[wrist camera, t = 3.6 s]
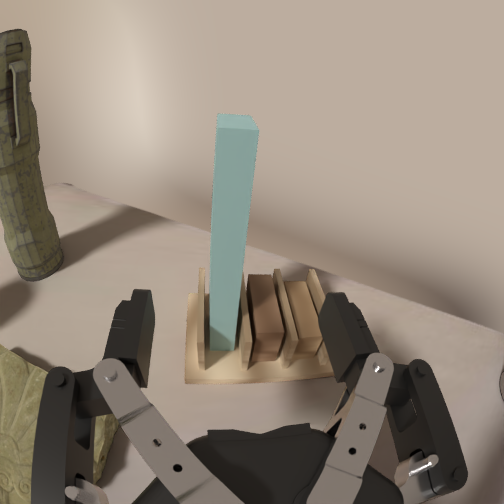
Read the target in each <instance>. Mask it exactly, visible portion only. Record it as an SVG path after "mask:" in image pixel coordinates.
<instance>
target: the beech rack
mask: <svg viewBox="0 0 504 504" xmlns="http://www.w3.org/2000/svg"><path fill="white" fill-rule="evenodd" d="M272 281H273V285H274V289H275V294H276V298H277V302H278V307H279V311H280V315H281V320H282V324H283V329H284V335H283V338H282V341H281V345H280V348H279V351H278V354H277V357H276V360H275V361H265V362H251V355H250V352H251V347H252V336H251V328H250V321H249V313H248V306H247V298H246V290H245V283H244V275H243V272H242V281H241V290H240V299H239V308H238V317H237V326H236V335H235V344H234V351H210V331H209V294H205V268H199V285H198V293H189V296H188V311H187V329H186V351H185V384H242V383H264V382H280V381H292V380H303V379H312V378H321V377H329V376H335V375H334V372H333V369H332V366H331V363H330V359H329V356H328V353H327V350H326V347H325V344H324V341H323V339H322V341H321V343H320V345H319V347H318V349H317V352H316V354H315V356H314V358H310V359H298V360H291V359H292V356H293V353H294V351H295V348H296V346H297V343H298V336H297V332H296V328H295V324H294V321H293V317H292V313H291V309H290V306H289V302H288V298H287V294H286V291H285V287H284V283H283V280H282V276H281V272H280V269H274V273H273V278H272ZM306 285H307V288H308V291H309V294H310V297H311V299H312V302H313V305H314V308H315V311H316V314H317V317H318V316H319V313H320V310H321V308H322V305H323V303H324V300H325V298H326V297H325V295H324V292H323V290H322V287H321V285H320V282H319V280H318V277H317V275H316V272H315V270H314V269H309V272H308V276H307V279H306Z"/></svg>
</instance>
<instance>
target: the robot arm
mask: <svg viewBox="0 0 504 504" xmlns="http://www.w3.org/2000/svg"><path fill="white" fill-rule="evenodd" d="M318 325H319V329H320V332H321V335H322V338H323V341H324V344H325V347H326V350H327V353H328V356H329V359H330V363H331V366H332V369H333V372H334V375H335V378H336V382H337V383H339V382H345V383H346V387H345V389H344V391H343V393H342V396H341V398H340V400H339V402H338V405H337V407H336V409H335V411H334V413H333V415H332V417H331V419H330V421H329V422H328V424H327V425H326V427H325V428H324V430H323V431H320V430H316V429H311V428H310V424H309V423H305V424H297V425H288V426H284V427H281V428H278V429H275V430H272V431H269V432H266V433H263V434H256V433H250V432H244V431H239V430H234V429H232V430H208V435H206V436H202V437H199V438H196V439H194V440H192V441H190V442H189V443H187V444H186V445H185V444H184V442H183V441H182V440H181V439H180V438H179V437H178V435H177V434H176V433H175V432H174V430H173V429H172V428H171V427H170V426H169V424H168V423H167V422H166V420H165V419H164V418H163V417H162V415H161V414H160V413H159V411H158V410H157V409H156V408H155V406H154V405H153V404H151V403H150V402H149V401H148V399H147V398H146V397H145V395H144V394H143V392H142V391H141V389H140V387H142V388H147V384H148V375H149V366H150V357H151V349H152V341H153V334H154V327H155V312H154V306H153V300H152V294H151V290H143V289H134V290H133V293H132V297H131V301H126V300H122V302H121V303H120V304H119V305H118V307H117V308H116V310H115V313H114V317H113V321H112V324H111V328H110V332H109V336H108V340H107V344H106V348H105V353H104V357H103V359H102V361H100V362H99V363H98V364H97V365H96V366H95V368H93V369H90V370H87V371H81V372H75V373H72V372H71V370H69V369H68V368H66V367H55V368H53V369H52V370H50V371H49V372H48V374H47V375H46V378H45V382H44V386H43V391H42V396H41V401H40V407H39V412H38V418H37V425H36V432H35V440H34V449H33V459H32V474H31V504H109V502H108V498H107V495H106V493H105V492H104V491H103V490H102V489H101V488H100V487H98V486H97V485H94V484H93V466H94V438H95V423H96V417H97V416H103V415H108V414H114V415H115V417H116V418H117V420H118V422H119V424H120V426H121V427H122V429H123V430H124V432H125V434H126V435H127V436H128V438H129V439H130V441H131V442H132V444H133V445H134V447H135V448H136V449H137V451H138V452H139V454H140V455H141V456H142V458H143V459H144V460H145V462H146V463H147V464H148V466H149V467H150V468H151V469H152V471H153V472H154V473H155V475H156V476H157V477H156V478H155V479H154V480H153V481H152V482H151V483H150V485H149V486H148V487H147V488H146V489H145V490H144V491H143V492H142V493H141V494H140V495H139V496H138V498H137V499H136V500H135V501H134V502H133V503H132V504H419V503H422V502H425V501H428V500H432V499H435V498H437V497H440V496H443V495H446V494H449V493H451V492H454V491H456V490H459V489H461V488H462V487H463V486H464V485H465V483H466V481H467V477H468V471H467V467H466V463H465V460H464V456H463V453H462V450H461V446H460V443H459V440H458V437H457V434H456V431H455V428H454V425H453V422H452V419H451V417H450V414H449V411H448V408H447V406H446V403H445V400H444V398H443V395H442V393H441V390H440V388H439V385H438V383H437V380H436V378H435V376H434V373H433V371H432V369H431V367H430V365H429V364H428V363H427V362H425V361H424V360H421V359H415V360H413V361H412V362H411V363H410V364H409V365H402V364H396V363H392V361H391V359H390V358H389V357H388V356H386V355H384V354H382V353H380V352H379V350H378V348H377V345H376V343H375V341H374V339H373V336H372V334H371V332H370V330H369V328H368V325H367V323H366V321H364V317H363V315H362V313H361V310H360V309H359V308H358V307H357V306H356V305H355V304H354V303H349V301H348V299H347V297H346V295H345V293H343V292H338V293H328V294H327V295H326V298H325V300H324V303H323V305H322V308H321V310H320V313H319V316H318ZM500 389H501V394H502V397H503V400H504V372H503V373H502V375H501V379H500ZM411 399H412V401H411ZM412 402H413V404H412ZM413 405H414V407H413ZM414 408H415V410H414ZM415 411H416V413H415ZM385 414H387V418H388V421H389V425H390V428H391V432H392V435H393V439H394V443H395V447H396V451H397V455H398V459H399V463H400V464H399V465H398V466H397V469H396V473H395V475H394V479H395V483H393V482H392V481H390V480H389V479H388V478H386V477H385V476H383V475H382V474H381V473H379V472H378V471H377V470H375V469H374V468H373V467H371V466H370V465H369V464H367V463H368V461H369V459H370V456H371V454H372V451H373V448H374V446H375V443H376V440H377V438H378V435H379V432H380V429H381V426H382V423H383V420H384V417H385ZM416 414H417V416H416Z"/></svg>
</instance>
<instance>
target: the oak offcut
mask: <svg viewBox="0 0 504 504" xmlns="http://www.w3.org/2000/svg"><path fill="white" fill-rule="evenodd" d="M284 287H285V291H286V294H287V298H288V302H289V306H290V309H291V313H292V317H293V321H294V324H295V328H296V332H297V336H298V343H297V346H296V348H295V351H294V353H293V356H292V359H291V360H298V359H310V358H314V356H315V354H316V352H317V349H318V347H319V345H320V343H321V341H322V339H323V338H322V335H321V332H320V329H319V325H318V317H317V314H316V311H315V308H314V305H313V302H312V299H311V297H310V294H309V291H308V288H307V285H306V282H305V281H284Z"/></svg>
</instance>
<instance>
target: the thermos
mask: <svg viewBox="0 0 504 504" xmlns="http://www.w3.org/2000/svg"><path fill="white" fill-rule="evenodd" d="M30 81H31V45H30V41H29V38H28V34H27V31H25V30H22V29H14V30H9V31H5V32H2V33H0V218H1V221H2V224H3V227H4V239H5V243H6V245H7V248H8V251H9V253H10V256H11V258H12V261H13V263H14V264H15V265H16V267H17V269H18V273H19V275H20V276H21V278H22V279H24V280H26V281H38V280H41V279H44V278H46V277H48V276H50V275H51V274H53V273H54V272H55V271H56V270H57V269H58V268H59V267H60V266H61V264H62V262H63V258H64V256H63V252H62V249H61V247H60V239H59V235H58V232H57V228H56V224H55V220H54V217H53V215H52V214H51V212H50V211H49V209H48V206H47V201H46V197H45V192H44V187H43V182H42V177H41V171H40V166H39V159H38V155H39V150H40V144H39V136H38V127H37V116H36V110H35V108H34V105H33V103H32V100H31V92H30V87H29V82H30Z"/></svg>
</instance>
